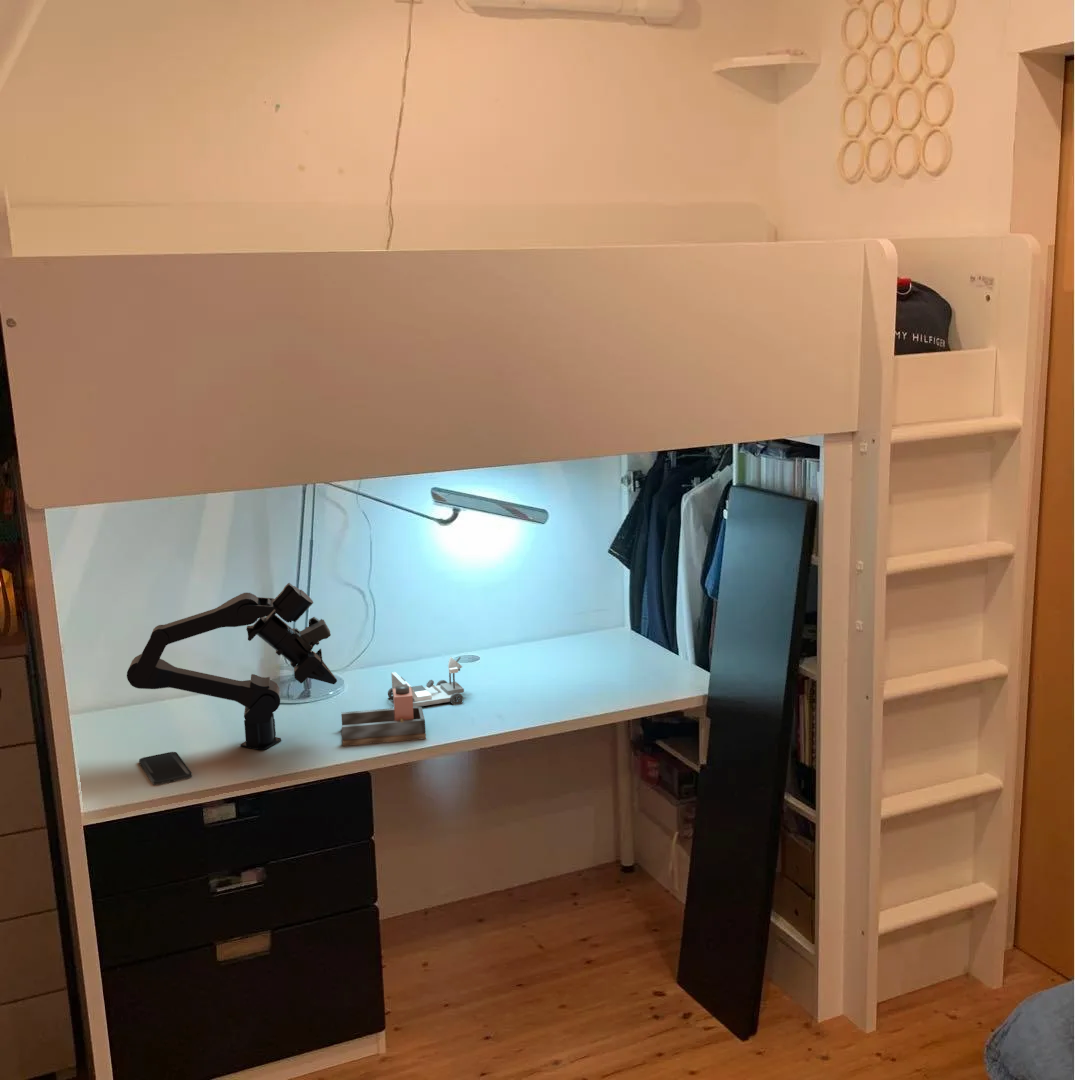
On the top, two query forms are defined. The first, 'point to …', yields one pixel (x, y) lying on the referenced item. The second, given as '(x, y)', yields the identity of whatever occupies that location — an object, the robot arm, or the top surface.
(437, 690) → the toy car
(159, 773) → the phone
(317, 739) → the top surface
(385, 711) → the track
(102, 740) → the top surface
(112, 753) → the top surface
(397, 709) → the slider
